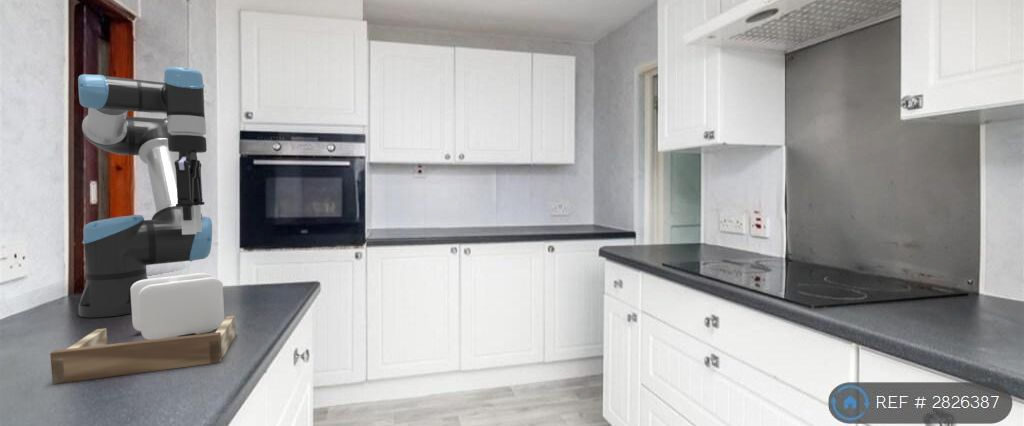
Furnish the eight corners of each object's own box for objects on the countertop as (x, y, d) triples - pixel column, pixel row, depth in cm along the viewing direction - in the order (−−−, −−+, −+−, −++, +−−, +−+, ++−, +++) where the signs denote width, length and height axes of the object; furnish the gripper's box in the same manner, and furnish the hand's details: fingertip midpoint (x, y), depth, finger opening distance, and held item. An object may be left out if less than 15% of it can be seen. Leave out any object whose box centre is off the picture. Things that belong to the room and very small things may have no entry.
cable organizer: (137, 346, 92) (133, 288, 91) (132, 334, 100) (129, 279, 99) (225, 330, 102) (222, 276, 101) (215, 319, 110) (212, 270, 109)
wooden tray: (97, 349, 90) (96, 324, 90) (235, 334, 99) (234, 311, 99) (52, 384, 75) (50, 353, 75) (220, 362, 84) (218, 334, 83)
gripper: (178, 138, 119) (183, 230, 120) (155, 131, 102) (161, 237, 104) (213, 139, 122) (217, 228, 123) (196, 132, 105) (201, 236, 107)
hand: (192, 232), depth 114 cm, fingers open, 5 cm apart
